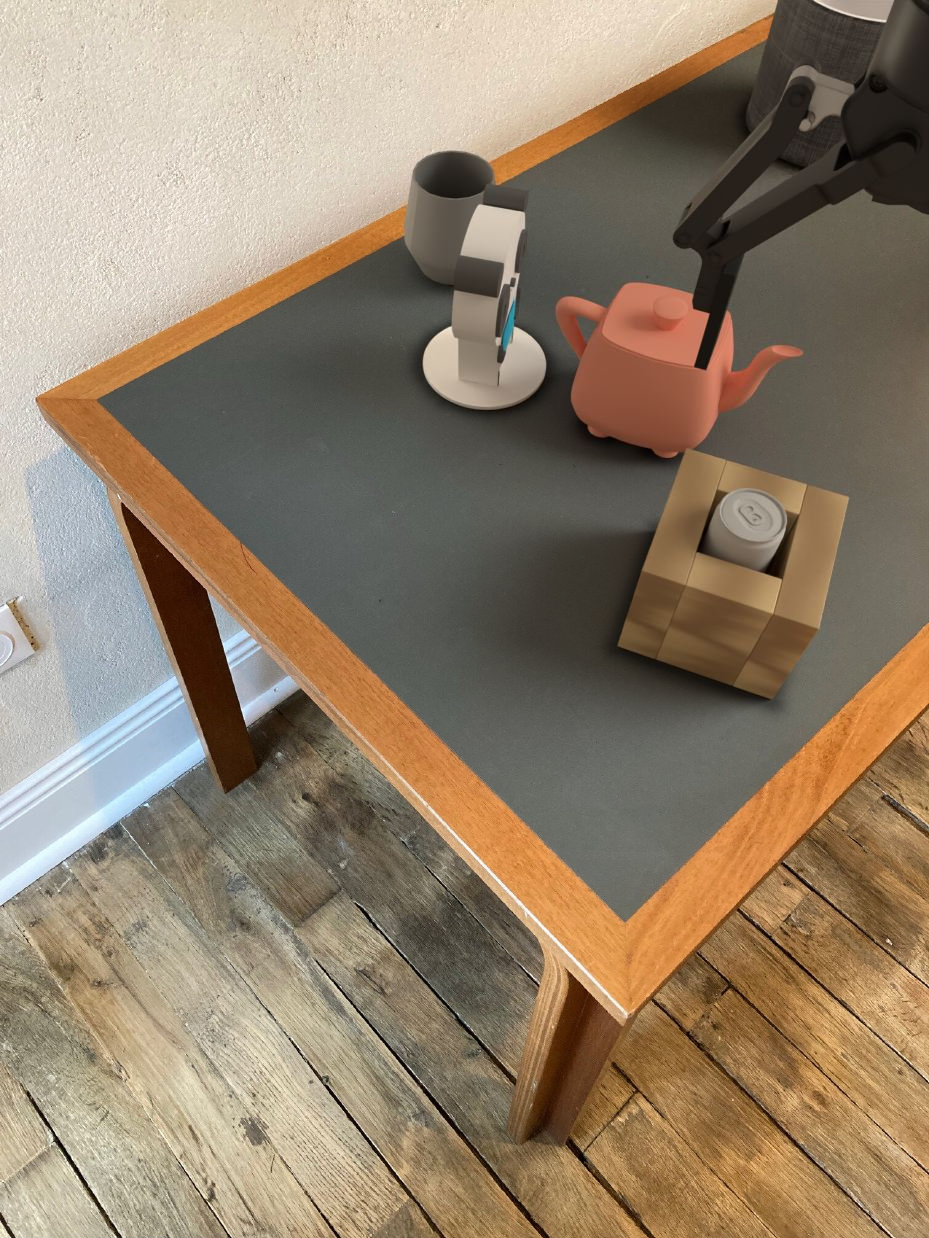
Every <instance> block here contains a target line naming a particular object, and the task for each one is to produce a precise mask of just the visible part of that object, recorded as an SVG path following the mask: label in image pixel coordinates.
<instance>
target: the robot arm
mask: <svg viewBox="0 0 929 1238" xmlns="http://www.w3.org/2000/svg"><path fill="white" fill-rule="evenodd" d="M834 115H835V116H839V117H840V123H841V127H842V130H843V133H844V136H845V139H843V140H842V141H840V142H839V143H837V144H836V145H834V146H833V147H832V148H831V149H830V150H829V151H828V152H827V154H826V155H825V156H823V157H822V158H820V159H819V160H817V161H816V162H814V163H813V164H811V165H809V166H808V167H804V168H803V169H801V170H800V171H798V172H797V173H795V174H794V175H792V176H790V177H789V178H787V179H786V180H784V181H782V182H781V183H779V184H778V185H776V186H775V187H772V188H771V189H770V190H768V191H766V192H765V193H763V194H762V195H760V196H759V197H757V198H756V199H754V200H752V201H750V202H749V203H747V204H746V205H744V206H743V207H741V208H740V209H738V210H736V211H735V212H733V213H732V214H730V215H729V216H727V217H725V218H724V214H725V213H726V212H727V211H728V210H729V209H730V208H731V207H732V206H733V205H734V204H735V203H736V202H737V201H738V200H739V199H740V197H742V195H743V194H744V193H746V191H747V190H748V189H749V188H750V187H751V186H752V185H753V184H754V183H755V182H756V181H757V180H758V179H759V178H760V177H761V176H762V174H764V173H765V172H766V171H767V169H769V168H770V166H771V165H772V164H773V163H774V162H775V161H776V160H777V159H778V158H779V156H780V155H781V153H782V152H783V151H784V150H785V149H786V148H787V147H788V145H789V144H790V142H791V141H792V139H793V138H794V136H795V134H796V132H797V130H798V129H799V130H800V131H802V132H806V131H809V130H811V129H814V128H815V127H817V126H818V124H819V123H820V122H821V121H822V120H823V119H824V118H826V117H828V116H834ZM862 190H864V191H865V192H866V193H867V194H869V195H870V196H871V202H873V203H876V204H877V203H878V204H882V205H886V206H908V207H909V208H911V209H913V210H915V211H918V212H920V213H921V214H924V215H928V216H929V0H894V2H893V5H892V7H891V10H890V13H889V15H888V18H887V21H886V23H885V26H884V29H883V31H882V34H881V37H880V39H879V42H878V45H877V47H876V50H875V53H874V56H873V58H872V61H871V63H870V66H869V68H868V69H867V71H866V72H865V73H864V75H863V76H862V77H861V78H860V79H859V80H858V81H857V82H856V83H854V84H853V85H852V84H850V83H847V82H844V81H841V80H838V79H835V78H832V77H829V76H826V75H824V74H821V65H820V63H819V62H818V60H816V59H815V58H813V57H806V58H802V59H801V60H800V61H798V62H797V64H796V65H795V67H794V69H793V72H792V74H791V76H790V79H789V81H788V83H787V86H786V88H785V90H784V93H783V95H782V97H781V100H780V102H779V103H778V104H777V105H776V107H775V108H774V109H773V110H772V111H771V112H770V113H769V114H768V115H767V117H766V118H765V119H764V120H763V121H762V122H761V123H760V124H759V125H758V126H757V128H756V129H755V130H754V131H753V132H752V133H750V134H749V135H748V136H747V138H746V139H745V140H744V141H743V142H742V143H741V144H740V145H739V146H738V148H737V149H736V150H735V151H733V153H732V154H731V155H730V156H729V158H727V160H726V161H725V162H724V163H723V164H722V165H721V166H720V167H719V169H718V170H717V171H716V172H715V173H714V174H713V175H712V177H710V178H709V180H707V182H706V183H705V184H704V185H703V186H702V187H701V189H699V190H698V192H697V193H696V194H695V195H694V196H693V197H692V198H691V200H690V201H689V202H688V203H687V204H686V205H685V207H684V208H683V211H682V214H681V216H680V218H679V220H678V223H677V225H676V227H675V229H674V232H673V233H672V242H673V244H674V245H675V246H676V247H677V248H678V249H679V248H680V249H681V250H688V249H692V250H693V251H695V252H696V253H697V254H698V255H699V257H700V259H701V266H700V269H699V274H698V277H697V281H696V284H695V288H694V292H693V299H692V304H693V309H694V310H698V311H702V312H706V313H709V317H708V321H707V324H706V328H705V331H704V334H703V338H702V341H701V344H700V348H699V351H698V354H697V358H696V361H695V364H694V367H695V368H699V369H702V370H707V367H708V365H709V362H710V359H711V356H712V354H713V351H714V348H715V345H716V343H717V340H718V337H719V333H720V330H721V327H722V324H723V321H724V318H725V314H726V311H728V308H729V304H730V302H731V298H732V296H733V292H734V290H735V285H736V282H737V279H738V276H739V274H740V269H741V266H742V264H743V260H744V257H745V254H746V253H747V252H749V251H751V250H753V249H754V248H756V247H758V246H760V245H761V244H763V243H764V242H767V241H769V240H770V239H771V238H774V237H775V236H777V235H778V234H780V233H782V232H783V231H785V230H787V229H789V228H790V227H792V226H794V225H795V224H797V223H799V222H800V221H802V220H804V219H806V218H807V217H809V216H811V215H813V214H814V213H816V212H817V211H819V210H821V209H823V208H824V207H826V206H828V205H831V206H836V205H838V204H840V203H841V202H844V201H845V200H847V199H848V198H850V197H852V196H854V195H855V194H857V193H859V192H860V191H862ZM723 218H724V219H723Z"/></svg>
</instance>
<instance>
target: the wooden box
mask: <svg viewBox="0 0 929 1238" xmlns="http://www.w3.org/2000/svg"><path fill="white" fill-rule="evenodd" d="M743 488H751V489H758V490H761V491H764V492H766V493H768V494H770V495H772V496H773V497H774V498H776V499H777V500H778V501H779V502H780V503H781V505H782V506H783V508H784V509H785V512H786V515H787V524H786V530H785V533H784V536H783V538H782V540H781V542H780V544H779V546H778V548H777V550H776V552H775V554H774V556H773V558H772V560H771V562H770V563H769V565H768V567H767V569H766V571H765V573H760V572H757V571H754V570H751V569H748V568H745V567H742V566H739V565H736V564H733V563H729V562H726V561H723V560H720V559H717V558H714V557H711V556H708V555H705V554H701V553H698V552H699V550H700V547H701V545H702V542H703V540H704V537H705V535H706V532H707V530H708V527H709V525H710V522H711V520H712V517H713V515H714V512H715V510H716V507H717V506H718V504H719V503H720V502H721V500H722V499H723V498H724V497H725V496H726V495H727V494H728V493H730V492H732V491H734V490H737V489H743ZM849 500H850V497H849V496H847V495H843V494H841V493H836V492H835V491H834V492H833V491H830V490H827V489H824V488H821V487H817V486H813V485H811V484H806V483H803V482H801V481H797V480H794V479H790V478H787V477H783V476H780V475H777V474H774V473H770V472H768V471H764V470H761V469H757V468H754V467H751V466H748V465H744V464H741V463H737V462H734V461H731V460H726V459H725V458H721V457H717V456H715V455H712V454H708V453H704V452H702V451H698V450H695V449H688V448H686V450H685V452H683V456H682V459H681V461H680V464H679V467H678V469H677V471H676V474H675V478H674V480H673V483H672V486H671V489H670V492H669V494H668V497H667V500H666V503H665V505H664V507H663V508H664V509H663V511H662V513H661V516H660V519H659V521H658V525H657V527H656V530H655V533H654V536H653V538H652V541H651V544H650V546H649V550H648V551H647V555H646V558H645V560H644V563H643V566H642V569H641V571H640V574H639V578H638V581H637V584H636V586H635V589H634V593H633V597H632V600H631V602H630V605H629V609H628V611H627V614H626V618H625V621H624V624H623V627H622V631H621V632H620V633H621V634H620V636H619V640H618V642H617V647H619V648H621V649H624V650H628V651H630V652H633V653H636V654H639V655H642V656H645V657H648V658H650V659H653V660H657V661H659V662H662V663H665V664H668V665H671V666H674V667H676V668H680V669H683V670H685V671H688V672H691V673H694V674H696V675H700V676H702V677H706V678H709V679H711V680H714V681H717V682H721V683H723V684H726V685H729V686H733V687H734V688H737V689H741V690H743V691H746V692H749V693H752V694H755V695H758V696H760V697H763V698H767V699H769V700H773V699H774V697H776V695H777V693H778V692H779V690H780V689H781V687H782V685H784V683H785V681H786V680H787V678H788V677H789V675H790V673H791V672H792V671H793V669H794V667H795V666H796V665H797V663H798V661H799V660H800V659H801V657H802V656H803V654H804V652H805V651H806V649H807V648H808V646H809V645H810V643H811V642H812V640H813V639H814V637H815V636H816V635H817V633H818V631H819V630H820V626H821V623H822V618H823V614H824V610H825V603H826V600H827V596H828V592H829V587H830V583H831V580H832V579H831V578H832V574H833V570H834V565H835V561H836V556H837V552H838V547H839V543H840V539H841V535H842V530H843V525H844V521H845V517H846V513H847V509H848V504H849Z"/></svg>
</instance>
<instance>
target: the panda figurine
mask: <svg viewBox="0 0 929 1238" xmlns="http://www.w3.org/2000/svg"><path fill="white" fill-rule="evenodd" d="M529 191H530V190H528V189H522V188H516V187H511V186H507V185H499V184H496V185H494V184H488V183H487V184H486V187H485V190H484V195H483V205H481V204H479V205H478V206H477V208H476V210H475V212H474V214H473V216H472V219H471V221H470V224H469V226H468V229H467V232H466V236H465V239H464V242H463V246H462V250H461V254H460V255H459V256H458V259H457V263H456V268H455V274H454V285H453V298H452V310H451V326H448V327H446V328H445V329H443V330H442V331H440V332H438V333H437V334H436V335H435V336H434V337H433V338H432V339H431V340H430V341H429V342H428V344H427V345H426V347H425V350H424V353H423V356H422V357H423V358H422V369H423V373H424V376H425V379H426V381H427V382H428V384H429V385H430V387H431V388H432V389H433V391H435V392H436V393H437V394H438V395H439V396H440V397H442V398H444V399H445V400H447V401H449V402H451V403H453V404H455V405H458V406H460V407H463V408H467V409H473V410H482V411H489V410H491V411H492V410H501V409H506V408H510V407H513V406H516V405H518V404H521V403H522V402H524V401H526V400H527V399H529V398H530V397H531V396H533V395H534V394H535V393H536V392H537V391H538V390H539V388H540V387H541V385H542V384H543V382H544V379H545V377H546V371H547V360H546V356H545V353H544V351H543V348H542V347H541V346H540V344H539V343H538V342H537V340H535V338H533V337H532V335H530V334H529V333H527V332H526V331H525V330H522V329H521V328H519V327H516V326H514V325H515V321H516V320H517V318H518V314H519V310H520V305H521V300H522V295H523V294H522V291H523V289H522V288H523V287H522V286H519V285H518V284H519V280H520V275H521V272H522V270H523V267H524V263H525V258H526V253H527V249H528V248H527V247H528V236H529V233H528V232H529V231H528V229H526V212H527V209H528V204H529V196H530V193H529Z"/></svg>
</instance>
